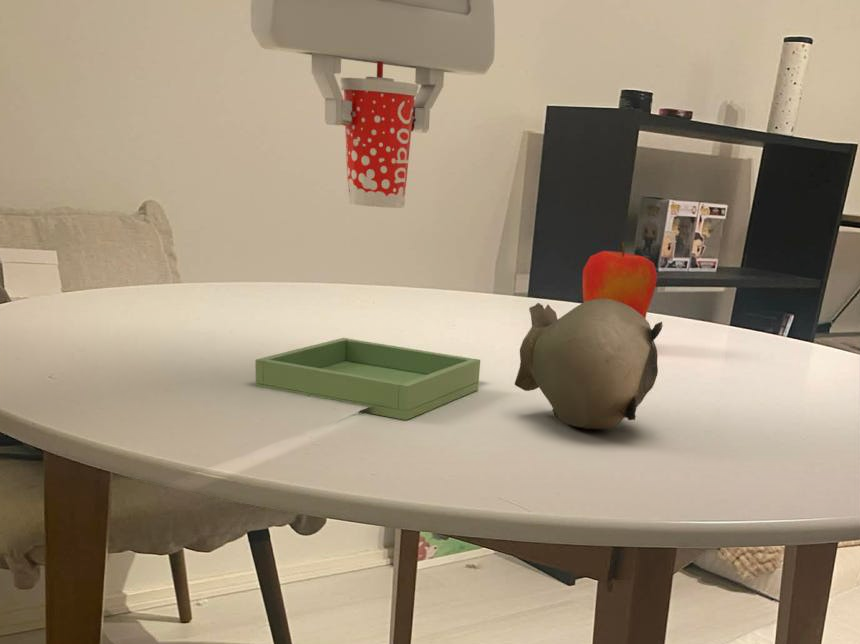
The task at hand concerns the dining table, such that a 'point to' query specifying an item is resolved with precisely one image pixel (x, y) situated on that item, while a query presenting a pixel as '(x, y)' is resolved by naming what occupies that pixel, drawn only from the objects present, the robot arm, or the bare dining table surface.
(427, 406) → the drinks tray
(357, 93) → the beverage cup
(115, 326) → the dining table surface
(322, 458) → the dining table surface
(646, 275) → the apple
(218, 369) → the dining table surface
